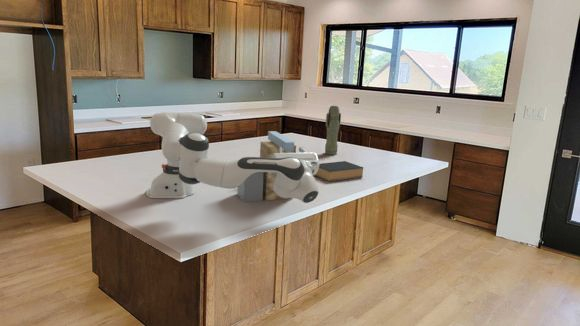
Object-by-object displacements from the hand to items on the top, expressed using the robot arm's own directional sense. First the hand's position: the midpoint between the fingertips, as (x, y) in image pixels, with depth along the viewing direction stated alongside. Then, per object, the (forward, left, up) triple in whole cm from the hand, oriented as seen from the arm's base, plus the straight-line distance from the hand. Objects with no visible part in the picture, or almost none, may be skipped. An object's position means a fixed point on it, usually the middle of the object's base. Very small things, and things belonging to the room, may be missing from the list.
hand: (290, 148), depth 195 cm
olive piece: (+71, +103, -27) cm, 128 cm away
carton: (-1, +15, -27) cm, 31 cm away
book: (+47, +44, -28) cm, 70 cm away
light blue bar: (-1, +12, -1) cm, 12 cm away
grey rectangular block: (-14, +15, -27) cm, 34 cm away
